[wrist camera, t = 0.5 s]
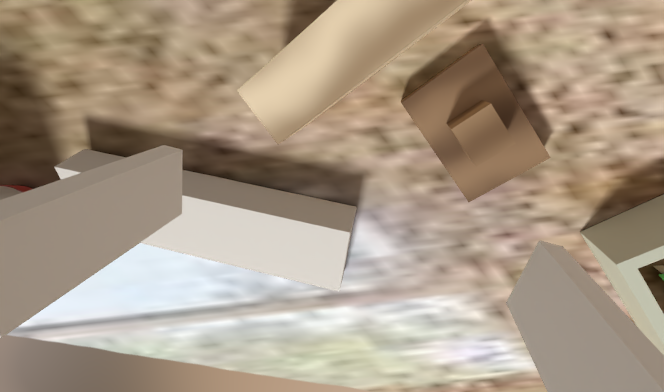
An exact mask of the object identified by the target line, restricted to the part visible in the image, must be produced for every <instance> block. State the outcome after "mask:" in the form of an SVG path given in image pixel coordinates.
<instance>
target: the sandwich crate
mask: <svg viewBox="0 0 664 392" xmlns="http://www.w3.org/2000/svg"><path fill="white" fill-rule="evenodd" d="M580 233H581V235H582V236H583V238H584V239H585V241H586V243H587V244H588V246H589V248H590V249H591V251H592V253H593V254H594V256H595V258H596V259H597V261H598V263H599V264H600V266H601V268H602V269H603V271H604V273H605V274H606V276H607V277H608V279H609V281H610V282H611V284H612V286H613V287H614V289H615V291H616V292H617V294H618V296H619V297H620V299H621V301H622V302H623V304H624V306H625V307H626V309H627V311H628V312H629V314H630V315H631V317H632V319H633V320H634V322H635V324H636V325H637V327H638V328H639V329H640V330H641V332H642V333H643V334H644V335H645V336H646V337H647V338H648V339H649V340H650V341H651V342H652V343H653V344H654V346H655V347H656V348H657V349H658V350H659V351H660V352H661V353H662V354H663V355H664V314H663V312H662V310H661V308H660V307H659V305H658V303H657V301H656V300H655V298H654V296H653V294H652V293H651V291H650V289H649V288H648V286H647V284H646V282H645V281H644V279H643V277H642V275H641V274H640V272H639V270H638V268H641V267H643V266H646V265H648V264H651V263H654V262H656V261H659V260H661V259H664V194H663V195H661V196H659V197H656V198H654V199H652V200H650V201H648V202H645V203H643V204H641V205H639V206H636V207H634V208H632V209H630V210H628V211H625V212H623V213H621V214H619V215H617V216H614V217H612V218H610V219H608V220H605V221H603V222H601V223H599V224H597V225H594V226H592V227H590V228H588V229H585V230H583V231H581V232H580Z"/></svg>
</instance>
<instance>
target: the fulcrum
mask: <svg viewBox="0 0 664 392" xmlns="http://www.w3.org/2000/svg"><path fill="white" fill-rule="evenodd" d="M401 103H402V104H403V106H404V107H405V109H406V110H407V112H408V113H409V115H410V116H411V118H412V119H413V121H414V122H415V124H416V125H417V127H418V128H419V130H420V131H421V133H422V134H423V135H424V137H425V138H426V140H427V141H428V143H429V144H430V146H431V147H432V149H433V150H434V152H435V153H436V155H437V156H438V158H439V159H440V161H441V162H442V164H443V165H444V166H445V168H446V169H447V171H448V172H449V174H450V175H451V177H452V178H453V180H454V181H455V183H456V184H457V186H458V187H459V189H460V190H461V192H462V193H463V195H464V196H465V197H466V199H467V200H468V202H470V201H472V200H474V199H476V198H477V197H479V196H481V195H483V194H485V193H487V192H488V191H490V190H492V189H494V188H496V187H498V186H499V185H501V184H503V183H505V182H507V181H509V180H510V179H512V178H514V177H516V176H518V175H520V174H521V173H523V172H525V171H527V170H529V169H530V168H532V167H534V166H536V165H538V164H540V163H541V162H543V161H545V160H547V159H549V158H550V156H549V154H548V153H547V151H546V149H545V148H544V146H543V144H542V142H541V141H540V139H539V137H538V136H537V134H536V132H535V131H534V129H533V127H532V126H531V124H530V122H529V121H528V119H527V117H526V116H525V114H524V112H523V110H522V109H521V107H520V105H519V104H518V102H517V100H516V99H515V97H514V95H513V94H512V92H511V90H510V89H509V87H508V85H507V84H506V82H505V80H504V78H503V77H502V75H501V73H500V72H499V70H498V68H497V67H496V65H495V63H494V62H493V60H492V58H491V57H490V55H489V53H488V52H487V50H486V48H485V46H484V45H483V44H479V45H477V46H475V47H474V48H473V49H471V50H470V51H468V52H467V53H466V54H464V55H463V56H462V57H460V58H459V59H458V60H456V61H455V62H453V63H452V64H451V65H449V66H448V67H447V68H445V69H444V70H442V71H441V72H440V73H438V74H437V75H436V76H434V77H433V78H431V79H430V80H429V81H427V82H426V83H425V84H423V85H422V86H420V87H419V88H418V89H416V90H415V91H414V92H412V93H411V94H409V95H408V96H407V97H405V98H404V99H403V100H401Z"/></svg>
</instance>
